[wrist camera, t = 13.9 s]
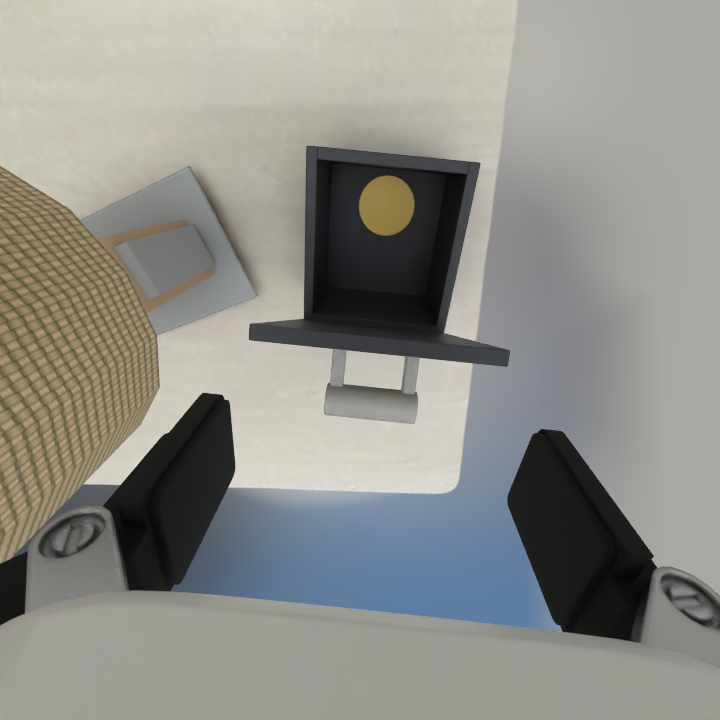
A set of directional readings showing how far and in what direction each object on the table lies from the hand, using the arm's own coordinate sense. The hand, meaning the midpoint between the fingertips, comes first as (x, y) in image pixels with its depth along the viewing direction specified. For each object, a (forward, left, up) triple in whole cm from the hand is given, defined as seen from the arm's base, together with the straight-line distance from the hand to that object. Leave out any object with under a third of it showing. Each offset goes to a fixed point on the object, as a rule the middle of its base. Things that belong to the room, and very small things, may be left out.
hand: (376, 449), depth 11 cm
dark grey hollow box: (0, -2, -31) cm, 31 cm away
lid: (0, +2, -14) cm, 14 cm away
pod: (0, -5, -30) cm, 30 cm away
